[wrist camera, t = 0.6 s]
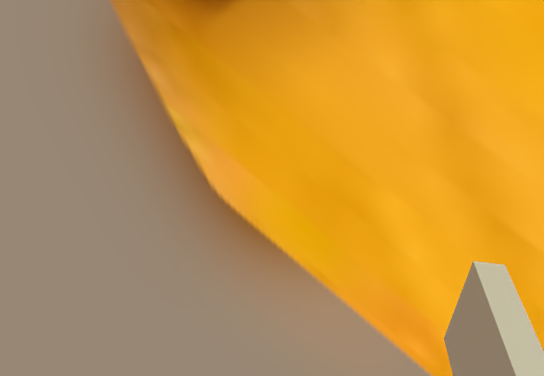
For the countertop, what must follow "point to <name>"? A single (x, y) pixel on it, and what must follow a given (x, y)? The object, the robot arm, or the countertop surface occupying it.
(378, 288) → the countertop surface
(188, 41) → the countertop surface
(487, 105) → the countertop surface
